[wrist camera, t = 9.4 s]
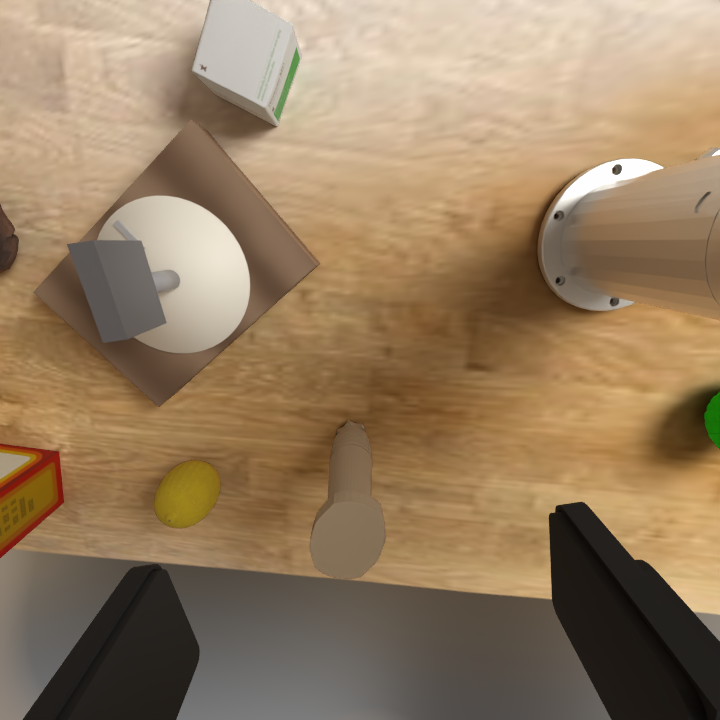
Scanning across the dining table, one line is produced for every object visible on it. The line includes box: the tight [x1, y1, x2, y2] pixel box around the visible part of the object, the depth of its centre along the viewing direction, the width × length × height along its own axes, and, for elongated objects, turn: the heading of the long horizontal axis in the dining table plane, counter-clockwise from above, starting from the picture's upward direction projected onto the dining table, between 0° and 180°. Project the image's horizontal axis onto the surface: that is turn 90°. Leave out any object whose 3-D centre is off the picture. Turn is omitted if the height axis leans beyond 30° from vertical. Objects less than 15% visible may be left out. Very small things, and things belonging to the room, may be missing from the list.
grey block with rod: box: [67, 240, 180, 343], centre depth 27 cm, size 6×7×9 cm
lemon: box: [154, 460, 221, 528], centre depth 37 cm, size 6×6×8 cm
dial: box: [97, 196, 250, 353], centre depth 32 cm, size 13×13×1 cm
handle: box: [310, 421, 386, 579], centre depth 32 cm, size 5×6×15 cm
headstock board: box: [33, 119, 320, 407], centre depth 33 cm, size 20×14×3 cm
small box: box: [192, 0, 302, 127], centre depth 28 cm, size 6×6×5 cm
